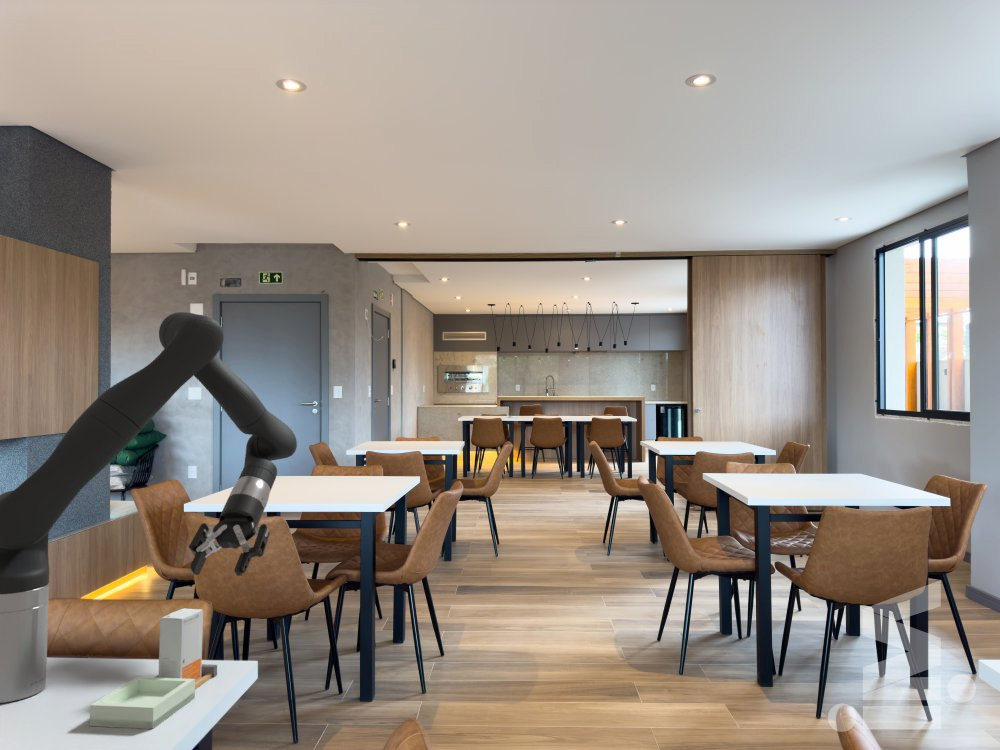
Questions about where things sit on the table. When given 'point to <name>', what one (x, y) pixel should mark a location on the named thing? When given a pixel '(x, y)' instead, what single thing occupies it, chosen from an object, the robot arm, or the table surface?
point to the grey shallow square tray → (205, 674)
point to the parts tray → (142, 702)
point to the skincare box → (181, 644)
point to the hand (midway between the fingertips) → (216, 573)
